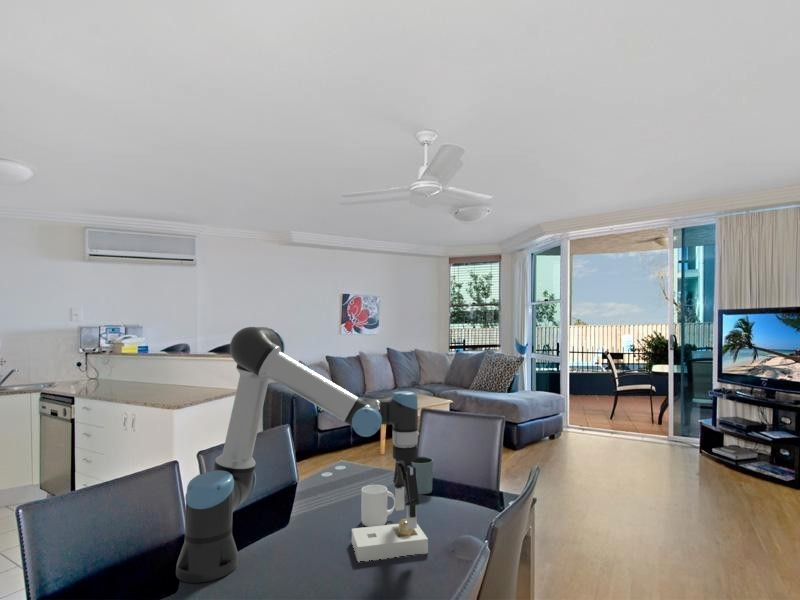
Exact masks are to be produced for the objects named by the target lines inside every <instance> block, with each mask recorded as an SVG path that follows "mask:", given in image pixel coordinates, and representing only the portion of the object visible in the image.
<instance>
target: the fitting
mask: <svg viewBox="0 0 800 600" xmlns="http://www.w3.org/2000/svg"><path fill="white" fill-rule="evenodd" d="M398 524H399V537H406V536H413V529H407V518H401V519H399V520H398Z"/></svg>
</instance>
